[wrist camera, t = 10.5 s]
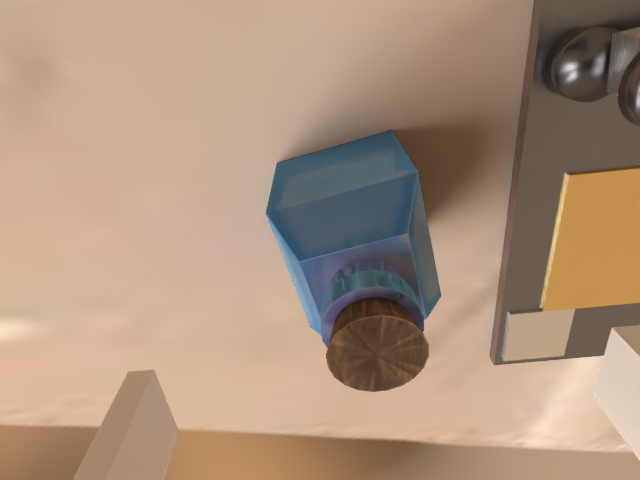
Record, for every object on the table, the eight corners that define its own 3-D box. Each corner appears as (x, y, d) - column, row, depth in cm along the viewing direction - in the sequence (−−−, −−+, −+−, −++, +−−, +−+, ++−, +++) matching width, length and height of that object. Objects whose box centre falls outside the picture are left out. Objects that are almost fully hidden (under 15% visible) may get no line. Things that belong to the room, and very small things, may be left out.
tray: (535, -7, 19) (560, -9, 17) (815, -41, 18) (874, -46, 16) (489, 356, 29) (502, 381, 27) (665, 340, 29) (690, 364, 27)
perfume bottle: (276, 163, 22) (246, 302, 12) (391, 129, 22) (466, 247, 11) (310, 258, 25) (310, 437, 15) (412, 231, 24) (488, 400, 14)
